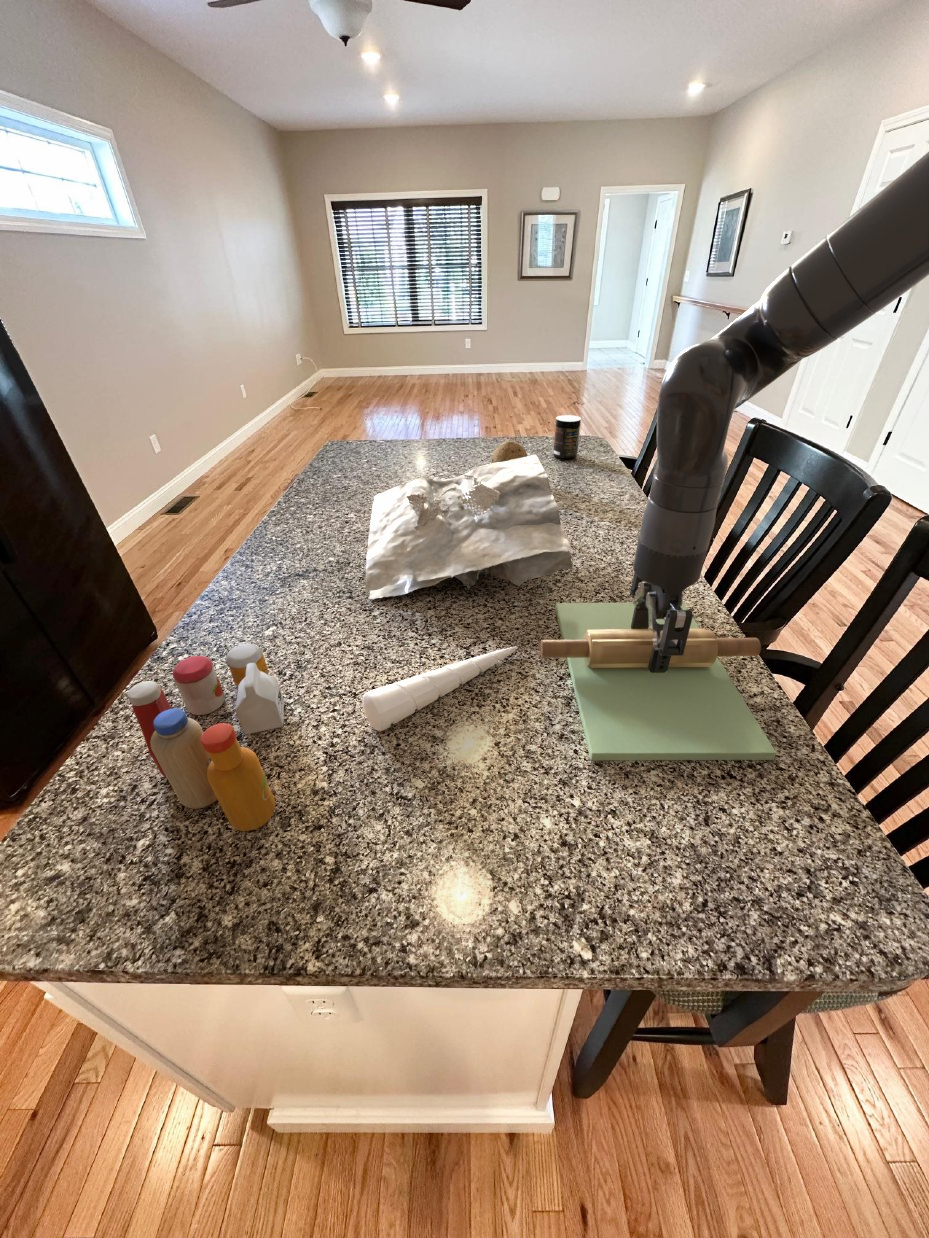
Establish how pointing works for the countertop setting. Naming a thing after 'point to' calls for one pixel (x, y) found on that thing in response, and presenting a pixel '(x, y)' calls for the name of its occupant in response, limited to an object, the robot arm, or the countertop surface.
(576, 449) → the supplement container
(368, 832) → the countertop surface
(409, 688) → the unicorn horn
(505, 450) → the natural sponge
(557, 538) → the white terrain model
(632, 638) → the rolling pin
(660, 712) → the pastry board
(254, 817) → the toy food
